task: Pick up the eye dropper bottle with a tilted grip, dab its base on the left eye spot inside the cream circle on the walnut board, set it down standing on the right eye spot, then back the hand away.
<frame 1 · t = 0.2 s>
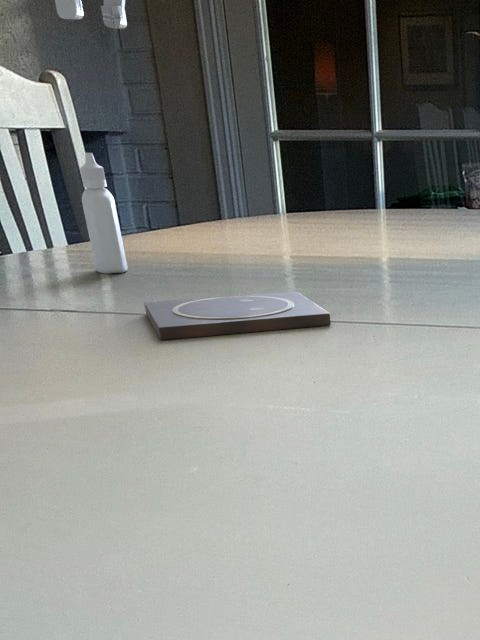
hand: (94, 23, 85), 23 cm above the table, tool pointing down, fingers open, 8 cm apart
eye dropper bottle: (112, 272, 104), on the table
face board: (235, 319, 79), on the table
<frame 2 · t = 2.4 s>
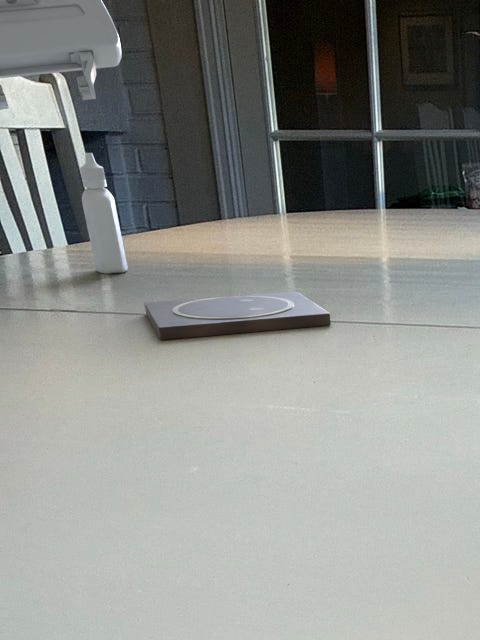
hand: (45, 100, 101), 17 cm above the table, tool tilted 40°, fingers open, 8 cm apart
nothing on the table moved.
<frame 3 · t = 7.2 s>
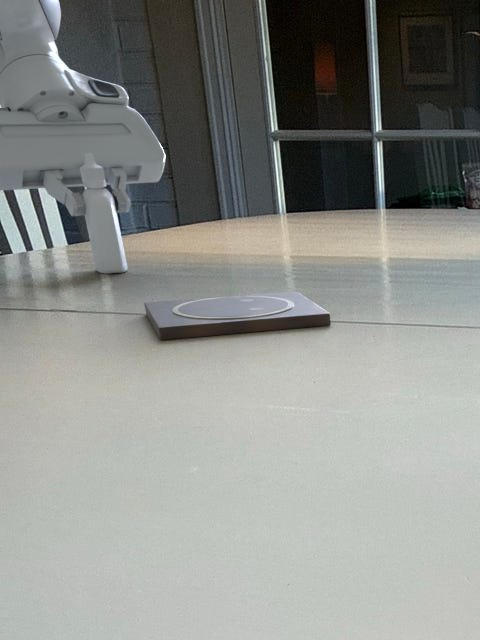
hand: (102, 210, 100), 6 cm above the table, tool tilted 45°, fingers closed on eye dropper bottle, 4 cm apart
eye dropper bottle: (112, 272, 104), on the table, touching gripper
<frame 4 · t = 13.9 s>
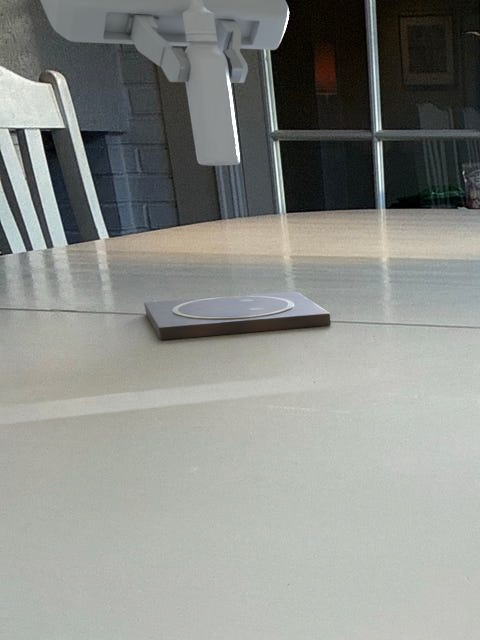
hand: (211, 76, 73), 18 cm above the table, tool tilted 45°, fingers closed on eye dropper bottle, 4 cm apart
eye dropper bottle: (219, 166, 77), point 12 cm above the table, touching gripper
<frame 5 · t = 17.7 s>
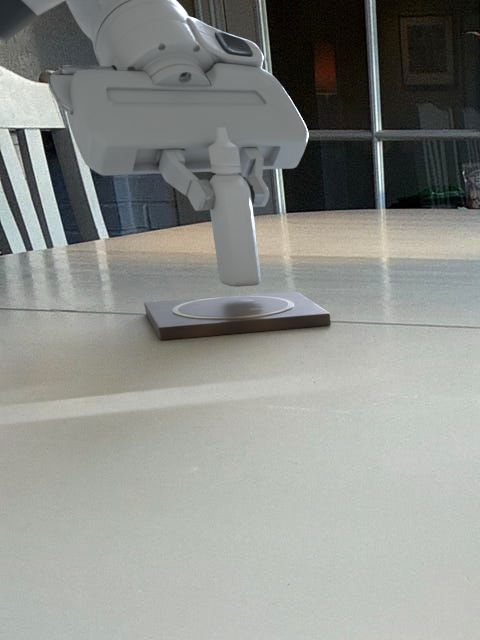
hand: (234, 203, 76), 9 cm above the table, tool tilted 45°, fingers closed on eye dropper bottle, 4 cm apart
eye dropper bottle: (240, 284, 80), point 2 cm above the table, touching gripper
when the fingers open (7 cm above the table, at t = 20.7 s): eye dropper bottle stays where it is, resting on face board.
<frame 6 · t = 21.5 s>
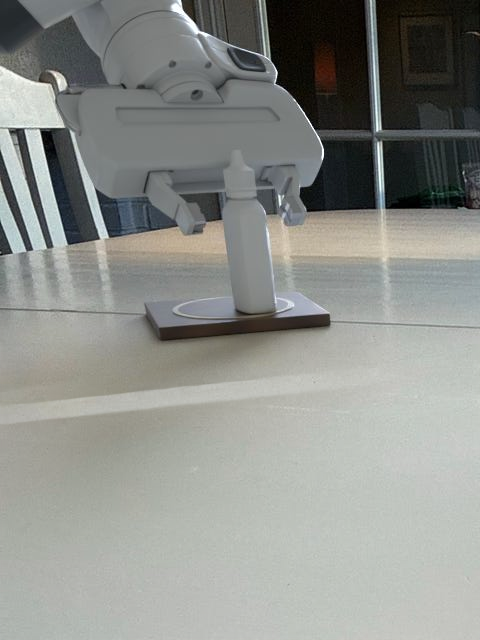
hand: (248, 225, 73), 8 cm above the table, tool tilted 45°, fingers open, 8 cm apart
eye dropper bottle: (256, 311, 77), point 1 cm above the table, touching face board
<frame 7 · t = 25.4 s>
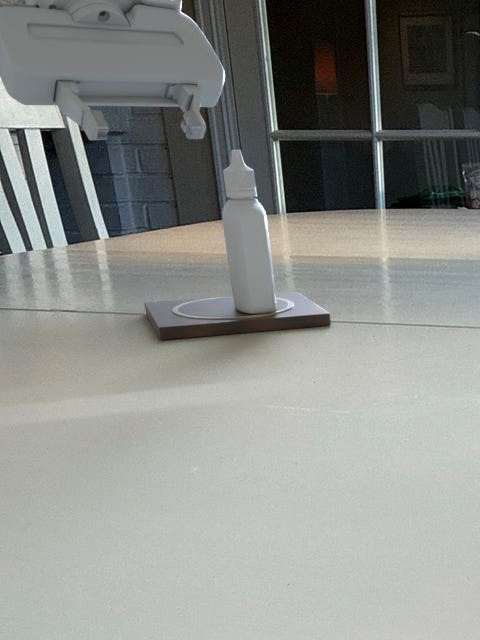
hand: (150, 134, 82), 14 cm above the table, tool tilted 45°, fingers open, 8 cm apart
nothing on the table moved.
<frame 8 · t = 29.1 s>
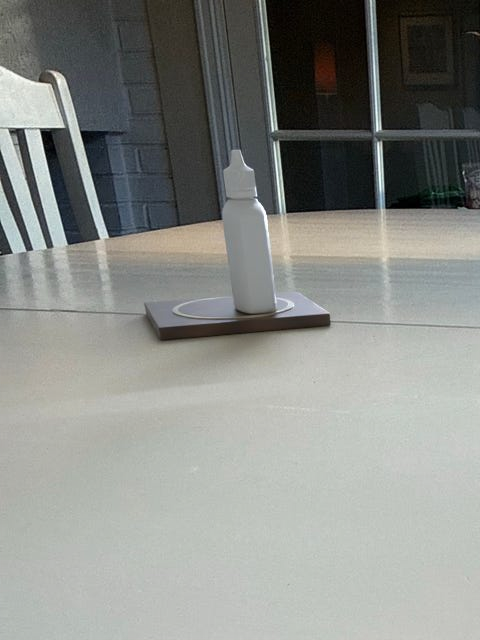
nothing on the table moved.
at the end: eye dropper bottle 0.0 cm from the target spot on the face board, point 1.0 cm above the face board's base; eye dropper bottle tilted 0°; the gripper is holding nothing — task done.
